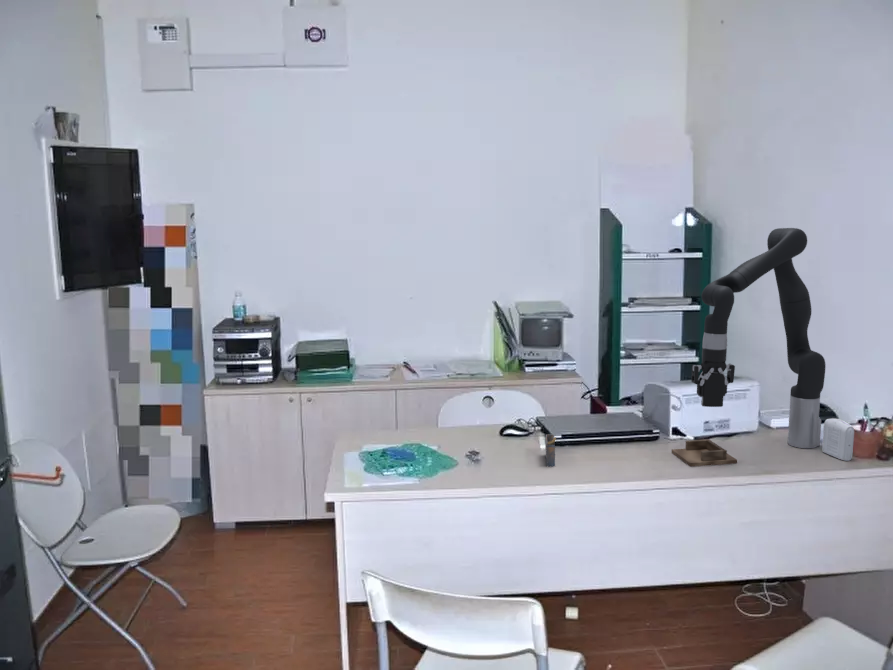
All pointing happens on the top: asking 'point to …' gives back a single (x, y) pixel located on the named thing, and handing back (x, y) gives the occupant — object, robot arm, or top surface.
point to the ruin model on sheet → (550, 450)
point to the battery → (713, 390)
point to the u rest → (703, 454)
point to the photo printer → (838, 439)
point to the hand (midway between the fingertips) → (711, 395)
